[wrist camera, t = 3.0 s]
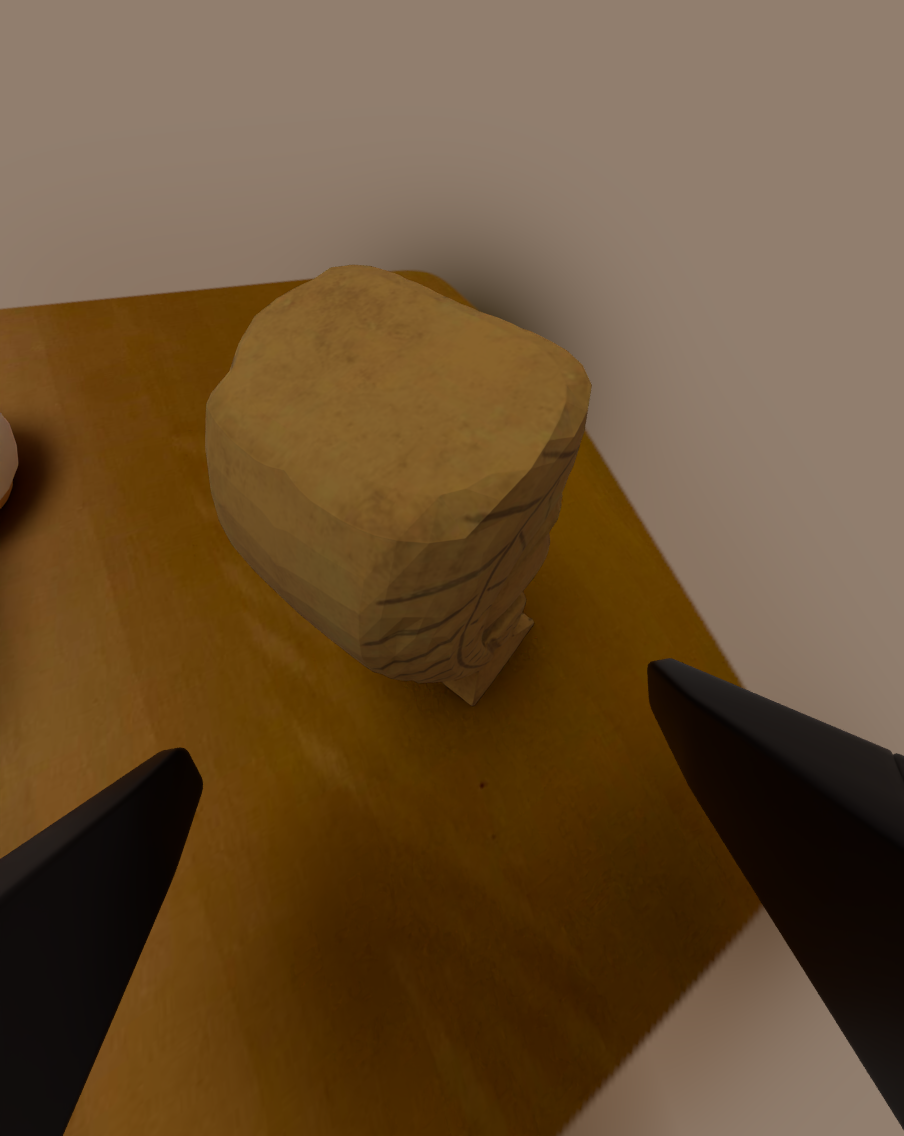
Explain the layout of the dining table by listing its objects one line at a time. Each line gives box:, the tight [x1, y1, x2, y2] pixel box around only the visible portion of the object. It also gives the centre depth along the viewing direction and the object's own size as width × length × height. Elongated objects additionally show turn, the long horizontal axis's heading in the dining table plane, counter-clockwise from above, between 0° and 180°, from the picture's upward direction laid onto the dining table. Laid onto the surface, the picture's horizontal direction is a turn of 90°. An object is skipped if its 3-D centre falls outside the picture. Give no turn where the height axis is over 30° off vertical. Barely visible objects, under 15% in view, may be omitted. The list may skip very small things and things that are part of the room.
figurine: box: [205, 265, 592, 706], centre depth 15 cm, size 7×6×15 cm
